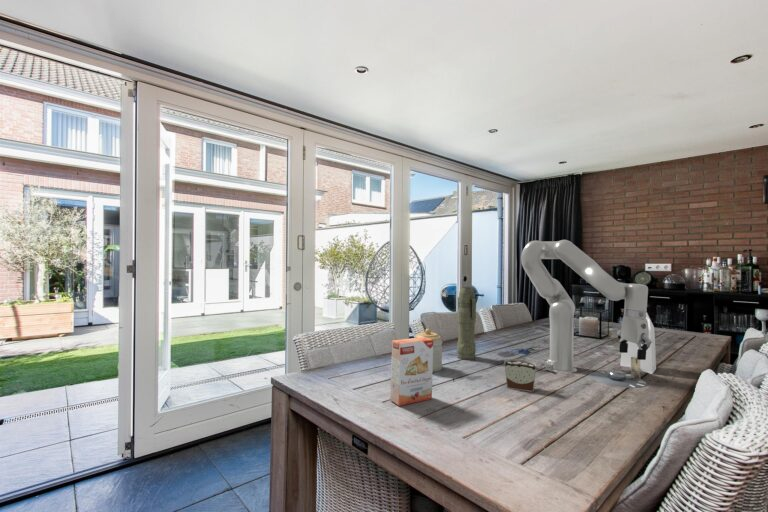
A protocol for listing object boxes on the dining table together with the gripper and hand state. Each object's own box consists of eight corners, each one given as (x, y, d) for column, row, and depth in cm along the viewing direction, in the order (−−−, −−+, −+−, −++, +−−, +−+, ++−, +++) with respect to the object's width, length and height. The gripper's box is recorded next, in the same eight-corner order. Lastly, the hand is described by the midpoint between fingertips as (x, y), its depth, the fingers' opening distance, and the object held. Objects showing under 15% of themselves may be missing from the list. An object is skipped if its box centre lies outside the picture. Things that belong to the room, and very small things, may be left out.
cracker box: (399, 407, 121) (400, 343, 121) (389, 401, 126) (390, 339, 126) (433, 399, 128) (434, 339, 128) (422, 393, 133) (423, 335, 134)
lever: (614, 380, 146) (614, 359, 146) (604, 375, 152) (604, 355, 152) (644, 379, 147) (645, 359, 147) (633, 375, 153) (633, 355, 153)
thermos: (469, 361, 177) (470, 288, 177) (451, 356, 186) (452, 286, 187) (481, 358, 182) (482, 287, 182) (463, 353, 191) (464, 286, 192)
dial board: (610, 391, 138) (610, 387, 138) (578, 374, 158) (578, 371, 158) (660, 390, 140) (660, 386, 140) (622, 374, 160) (622, 370, 160)
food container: (538, 387, 142) (538, 361, 142) (537, 392, 136) (537, 365, 136) (504, 382, 147) (505, 357, 147) (502, 387, 142) (503, 361, 142)
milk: (656, 368, 169) (656, 311, 169) (652, 374, 161) (652, 314, 161) (625, 363, 177) (625, 309, 178) (620, 368, 169) (620, 311, 169)
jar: (446, 367, 167) (447, 328, 167) (434, 374, 156) (435, 332, 156) (421, 362, 174) (421, 325, 174) (407, 369, 163) (408, 329, 163)
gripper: (661, 318, 142) (658, 362, 142) (627, 310, 159) (625, 350, 159) (642, 317, 141) (639, 362, 142) (611, 310, 159) (608, 349, 159)
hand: (632, 355), depth 151 cm, fingers open, 9 cm apart
